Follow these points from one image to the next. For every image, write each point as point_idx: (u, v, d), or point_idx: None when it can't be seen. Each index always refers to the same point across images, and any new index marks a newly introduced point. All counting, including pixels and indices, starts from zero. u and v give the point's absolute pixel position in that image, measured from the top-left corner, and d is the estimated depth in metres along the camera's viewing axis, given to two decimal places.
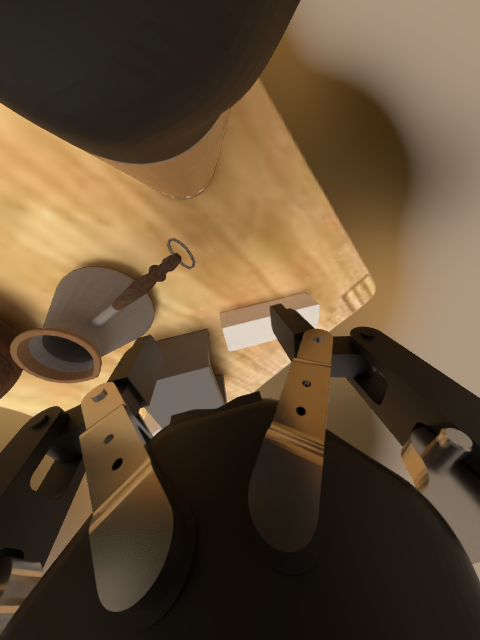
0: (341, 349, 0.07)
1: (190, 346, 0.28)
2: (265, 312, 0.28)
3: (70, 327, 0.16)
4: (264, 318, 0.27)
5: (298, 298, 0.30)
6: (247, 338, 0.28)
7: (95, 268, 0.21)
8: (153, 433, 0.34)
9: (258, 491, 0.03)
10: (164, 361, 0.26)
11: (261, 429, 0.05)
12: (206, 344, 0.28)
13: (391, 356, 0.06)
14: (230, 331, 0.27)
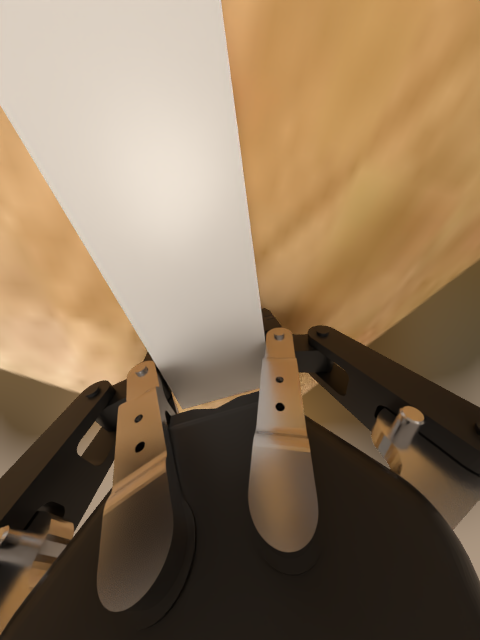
0: (300, 346, 0.08)
1: None
2: None
3: None
4: (237, 173, 0.05)
5: None
6: None
7: None
8: None
9: (258, 491, 0.03)
10: None
11: None
12: None
13: (346, 349, 0.07)
14: None
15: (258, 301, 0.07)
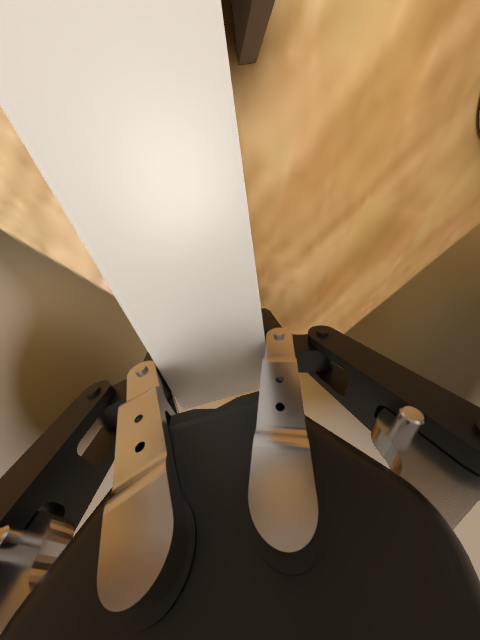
0: (299, 346, 0.08)
1: None
2: None
3: None
4: (238, 174, 0.05)
5: None
6: None
7: None
8: None
9: (258, 491, 0.03)
10: None
11: None
12: None
13: (346, 349, 0.07)
14: None
15: (258, 302, 0.07)
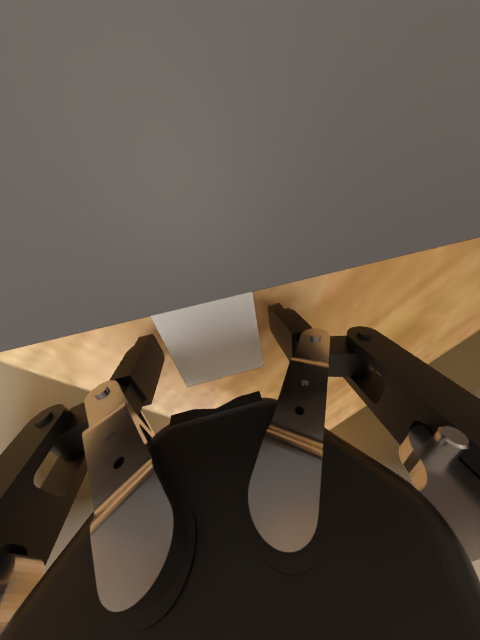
0: (338, 349, 0.07)
1: None
2: None
3: None
4: None
5: None
6: None
7: None
8: None
9: (258, 491, 0.03)
10: None
11: (261, 429, 0.05)
12: None
13: (388, 355, 0.06)
14: None
15: None
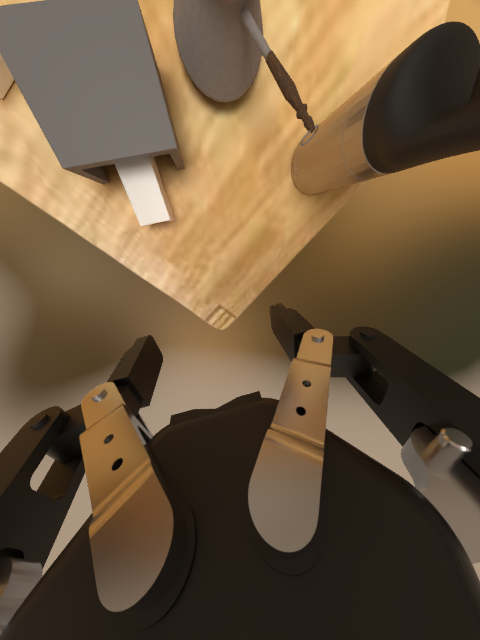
0: (341, 349, 0.07)
1: None
2: None
3: None
4: None
5: (169, 207, 0.31)
6: None
7: None
8: None
9: (258, 491, 0.03)
10: None
11: (261, 429, 0.05)
12: (181, 158, 0.26)
13: (391, 356, 0.06)
14: None
15: (156, 181, 0.27)
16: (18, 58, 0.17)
